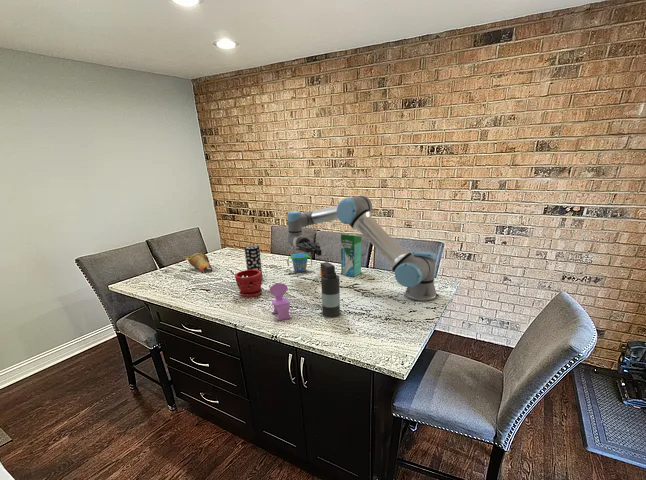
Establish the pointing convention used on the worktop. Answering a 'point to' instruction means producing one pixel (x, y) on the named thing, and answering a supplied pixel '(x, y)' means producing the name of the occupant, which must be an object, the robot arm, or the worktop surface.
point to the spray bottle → (330, 291)
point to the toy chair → (280, 301)
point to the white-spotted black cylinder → (253, 258)
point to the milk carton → (350, 254)
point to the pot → (198, 261)
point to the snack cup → (299, 261)
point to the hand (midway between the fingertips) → (320, 252)
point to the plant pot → (249, 282)
